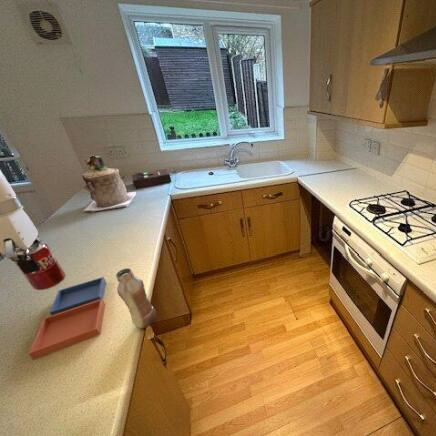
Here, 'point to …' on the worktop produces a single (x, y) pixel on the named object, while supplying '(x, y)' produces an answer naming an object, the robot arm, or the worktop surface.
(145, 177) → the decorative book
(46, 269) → the soda can
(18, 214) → the robot arm
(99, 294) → the blue tray
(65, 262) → the worktop surface
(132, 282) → the plastic bottle
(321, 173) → the worktop surface
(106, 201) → the cookie jar
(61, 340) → the terracotta tray
